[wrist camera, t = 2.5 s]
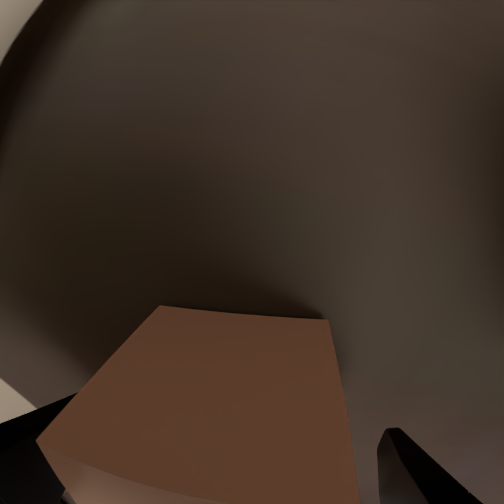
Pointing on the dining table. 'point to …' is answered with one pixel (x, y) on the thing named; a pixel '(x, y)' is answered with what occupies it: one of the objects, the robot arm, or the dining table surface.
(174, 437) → the tan cube
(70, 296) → the dining table surface
